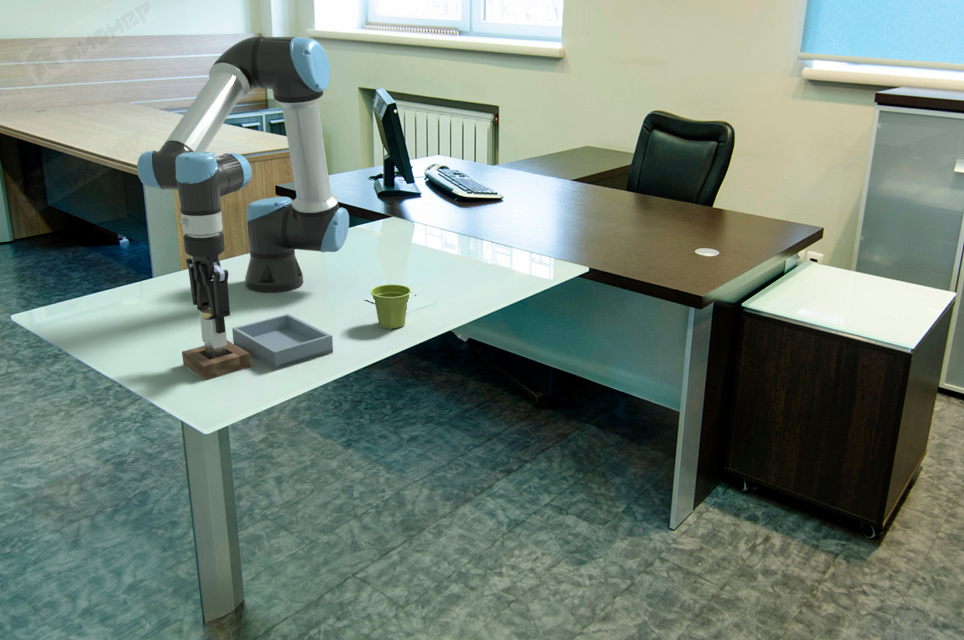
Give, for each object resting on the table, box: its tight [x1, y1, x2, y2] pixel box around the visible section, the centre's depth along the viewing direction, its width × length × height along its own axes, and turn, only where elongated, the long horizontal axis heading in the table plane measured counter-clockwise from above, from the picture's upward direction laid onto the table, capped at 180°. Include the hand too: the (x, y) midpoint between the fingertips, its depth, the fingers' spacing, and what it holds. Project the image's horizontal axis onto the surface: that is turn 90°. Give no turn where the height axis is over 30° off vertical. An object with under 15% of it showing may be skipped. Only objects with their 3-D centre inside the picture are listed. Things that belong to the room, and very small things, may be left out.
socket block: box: [181, 339, 252, 381], centre depth 170 cm, size 10×10×3 cm
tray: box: [231, 313, 334, 371], centre depth 179 cm, size 14×18×4 cm
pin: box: [201, 308, 226, 359], centre depth 168 cm, size 4×4×12 cm
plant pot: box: [370, 283, 412, 329], centre depth 193 cm, size 9×9×9 cm
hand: (214, 342), depth 169 cm, fingers closed on pin, 4 cm apart
